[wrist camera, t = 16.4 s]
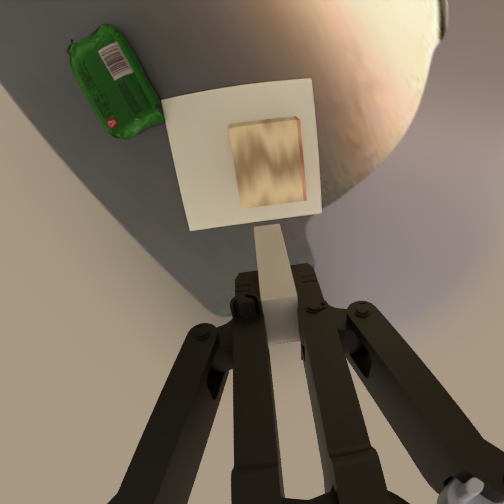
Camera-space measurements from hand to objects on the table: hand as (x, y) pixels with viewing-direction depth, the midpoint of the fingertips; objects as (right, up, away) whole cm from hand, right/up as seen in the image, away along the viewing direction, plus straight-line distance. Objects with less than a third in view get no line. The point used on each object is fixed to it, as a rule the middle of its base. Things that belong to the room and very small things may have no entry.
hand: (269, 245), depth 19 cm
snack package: (-17, +21, +14) cm, 30 cm away
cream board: (-2, +11, +20) cm, 23 cm away
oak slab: (-3, +10, +19) cm, 21 cm away
